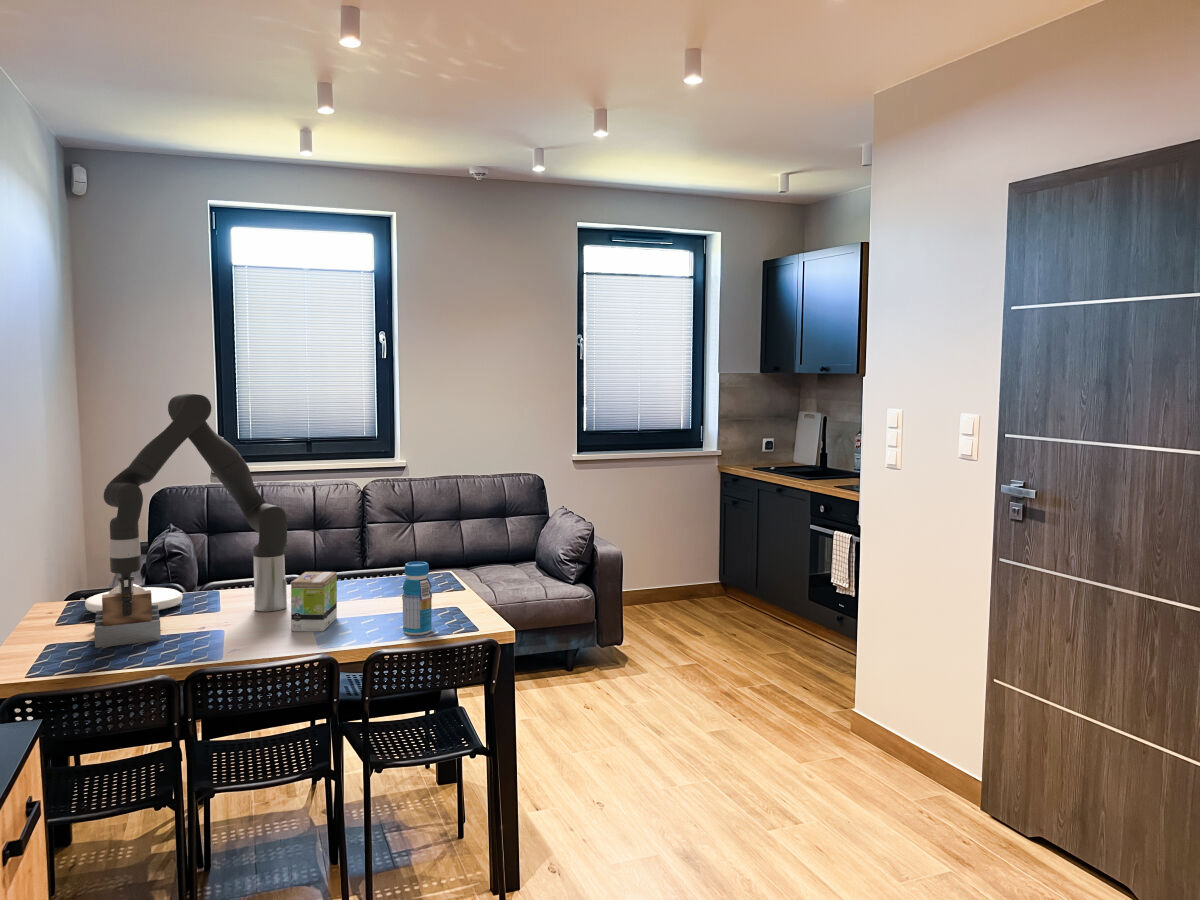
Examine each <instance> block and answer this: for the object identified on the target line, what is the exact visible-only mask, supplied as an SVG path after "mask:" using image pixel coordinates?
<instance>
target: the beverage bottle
mask: <svg viewBox="0 0 1200 900" xmlns="http://www.w3.org/2000/svg"><path fill="white" fill-rule="evenodd" d="M429 568H430V566H429V563H428V562H427V561H409V562H407V563H405V565H404V576H405V577H406V578H405V579H404V581H403V584H402V588H401V589H402V590H403V592H402V595H401V599H402V624H403V625H402V631H403V634H405V635H409V636H422V635H426V634H429V633H431V632H432V630H433V626H432V617H433V616H432V608H433V607H432V606H433V605H432V599H433V595H432V594H433V593H432V591H431V590H432V582H431V581H430V579H429V578H428V577H427V576H428V575H429V573H430V572H429V571H430V570H429Z"/></svg>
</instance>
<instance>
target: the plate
mask: <svg viewBox="0 0 1200 900" xmlns="http://www.w3.org/2000/svg"><path fill="white" fill-rule="evenodd" d="M143 588H144V589H145V590H146V591H147V590H151V598H152V605H158V609H159V611H160V610H165V609H166V610H167V609H169V608H172V607H175V606H178V605H179V604H181V603H182V602H183V596H184V595H183V593H182V592H180V591H179V590H177V589H173V588H169V587H168V588H166V587H151V586H149V587H143ZM109 592H110V591H105V592H102V593H98V594H95V595H93V596H90V597H88V598H86V600H85V603H84V606H85V608H86V610H87V611H89V612H92V613H95V614H96V611H98V610H102V595H105V594H108V593H109Z"/></svg>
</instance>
